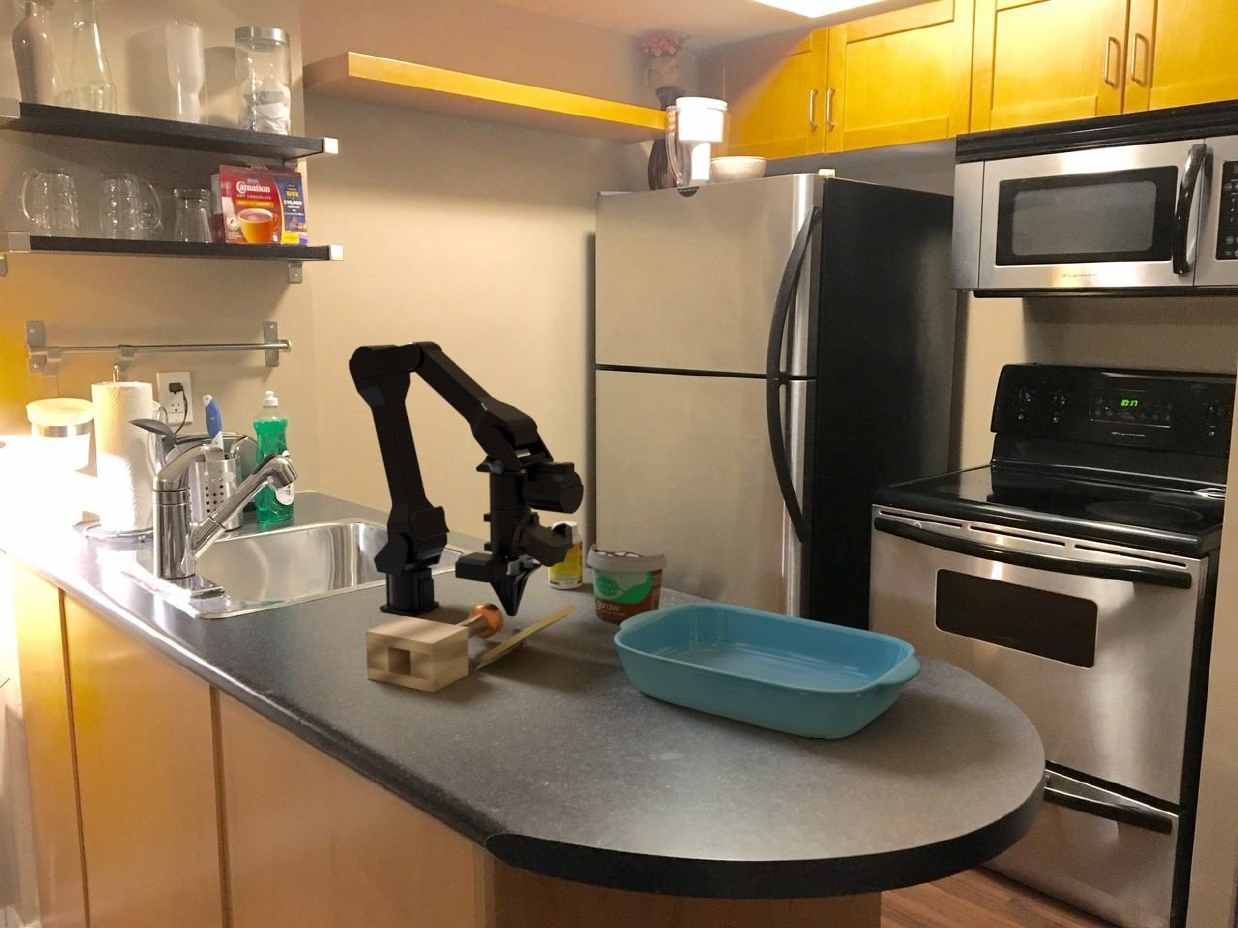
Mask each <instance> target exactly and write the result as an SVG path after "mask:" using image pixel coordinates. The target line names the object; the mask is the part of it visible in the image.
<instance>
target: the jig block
mask: <svg viewBox="0 0 1238 928" xmlns="http://www.w3.org/2000/svg"><path fill="white" fill-rule="evenodd" d="M365 641H366V642H365V643H366V644H365V645H366V666H367V667H366V670H367V672H366V673H367V674H366V675H367V679H369V680H374V681H378V682H384V683H388V684H392V685H396V686H397V685H398V686H401V687H405V688H411V689H415V690H419V691H423V692H429V693H432V694H433V693H436V692H437V691H438V692H439V690H441V689H443V688H445V687H447V686H449V685H451V684H453V683H454V682H456V681H458V680H461V679H462V678H464V677H466V676H468V675H470V674H469V665H468V655H469V639H468V627H463V626H458V625H456V624H450V623H446V622H441V621H440V622H439V621H433V620H429V619H423V618H419V617H418V618H417V617H413V616H408V615H402V616H398V617H397V618H394V619H392V620H389V621H386V622H385V623H382V624H380V625H377V626H375V627H372V628H370V629H368V630H366V631H365Z"/></svg>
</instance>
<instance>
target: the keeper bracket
mask: <svg viewBox="0 0 1238 928" xmlns="http://www.w3.org/2000/svg"><path fill="white" fill-rule="evenodd" d="M523 630H524V629H521V628H515V629H513V630H512V637H513V636H515V635H517V634H518V633H520V632H521V631H523ZM527 645H528V640H526V641H525V642H523V643H521V644H520V645H518V646H517V647H521V648H524V647H525V646H527ZM476 660H477V655H473V654H468V665H469V674H468V675H473V674H475V673H477V667H476Z"/></svg>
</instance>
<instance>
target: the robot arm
mask: <svg viewBox="0 0 1238 928" xmlns="http://www.w3.org/2000/svg"><path fill="white" fill-rule="evenodd" d="M348 370H349V374H350V376H351V379H352V382H353V385H354V387H355V390H356V392H357V394H358V395H359V396H360V397H361V398H362V400H363V401H364V402H365V403H366V404H367V406H368V407H369V408H370V410H371V414H372V419H373V422H374V427H375V432H376V436H377V437H376V438H377V440H378V445H379V451H380V454H381V459H382V463H383V468H384V473H385V477H386V482H387V486H388V491H389V496H390V501H391V508H390V511H389V515H388V519H387V522H386V534H387V542H386V543H385V544H384V545H383V547H381V549H380V551H379V552H377V554H376V555H375V556H374V557H373V562H374V565H375V568H376V571H377V572H378V573H381V574H385V597H386V599H385V600H386V603H385V604H383V605H381V606H379V611H383V612H390V613H395V614H401V615H404V616H409V617H413V616H416V615H419V614H421V613H423V612H427V611H429V610H431V609H433V608H434V609H435V608H436V607H438V606H440V601H436V599H435V579H434V578H433V568H432V567H431V566H434V565H439V564H440V560H441V558H442V553H443V552H444V550H445V548H446V546H447V545H448V534H449V533H450V531H451V530H450V529H449V527H448V526H447V522H446V514H445V510H444V508H443V506H442V505H438V506H436V507H435V506H434V505H433V504H432V502H431V501H430V500H429V499H428V498H427V496H426V495H427V494H426V491H425V487H424V483H423V479H422V478H423V477H422V475H421V474H422V473H421V470H420V464H419V458H418V455H417V451H416V446H415V442H414V437H413V432H412V427H411V424H410V419H409V414H408V409H407V405H406V400H407V397H408V393H409V390H410V387H411V384H412V383H411V374H412V373H416V374H417V375H418V377H420V378H421V379H422V380H423V381H424V382H425V383H426V384H427V385H428V386H429V387H430V388H432V389H433V390H434V391H435V392H436V393H437V394H438V395H439V396H440V398H442V399H443V400H444V401H445V402H447V403H448V405H450V406H451V407H452V408H453V409H454V410H456V412H457V413H458V414H460V416H461V417H463V418H464V420H465V421H466V422H467V423H468V425H469V426H470V432H471V434H472V437H473V439H474V441H476V443H477V444H478V446H480V448H481V449H482V451H483V452H484V453H485V454H486V456H485V457H484V459H483V461H481V462H480V463H479V464H478V465H477V466H476V467H475V470H476V472H478V473H485V474H486V473H487V474H488V475H489V476H488V477H489V478H488V479H489V480H488V481H489V483H488V485H489V487H488V489H489V512H487V513H484V514H483V522H485V523H489V538H490V539H489V541H488V542H485V543H483V551H484V552H479V551H474V552H471V553H468V554H466V555H462V556H460V557H459V558H458V559H457V560H456V561H455V563H454V576H455V579H459V580H460V579H462V580H468V581H474V582H480V583H481V582H482V583H486V584H487V583H488V584H490V586H491V587H492V589H493V590H494V592H495V594H496V596H497V598H498V600H499V602H500V604H501V607H502V608H503V610H504V612H505V614H506V616H508V617H512V618H513V617H515V616H517V614H518V611H519V609H520V605H521V602H522V598H523V595H524V592H525V588H526V586H527V582H528V580H529V577H530V576H531V575H533V574H534V573H535V572H536V571H537V570H539V569H540V568H541V567H542V566H544V567H546V568H548V567H552V566H554V565H555V564H557V563H559V562H561V563H562V562H564V560H565V557H566V554H567V551H568V550H569V549H571V548H573V546H574V544H573V543H572V541H573V535H572V527H571V526H570V525H568V524H566V523H561V524H558V525H556V526H555V527H554V528H553V526H550V525H549V526H545V525H541V523H540V515H539V514H538V511H542V512H550V513H551V512H552V513H558V514H567V515H572V514H573V515H574V514H575V513H576V512H577V511H578V510H579V508H580V506H581V505H582V502H583V499H584V495H585V494H584V492H585V489H584V488H585V487H584V484H583V481H582V479H581V476H580V474H579V473H578V472H577V471H575V466H576V465H575V463H574V462H572V461H563V462H559V461H558V462H556V461H555V459H554V457H553V455H552V453H551V452H550V450H549V449H548V447H547V445H546V443H545V442H544V440H543V438H542V437H541V435H540V434H539V431H538V425H537V422H536V421H535V420H534V418H533V417H531V416H530V415H529V414H527V413H525V412H524V411H522V410H520V409H519V408H517V407H516V406H514V405H511V404H509V403H506V402H503V401H501V400H499V399H497V398H496V397H493V396H492V395H491V394H490V393H489V392H487V391H486V390H485V389H484V388H483V387H482V386H481V385H480V384H479V383H478V382H477V381H476V380H475V379H473V378H472V377H471V376H470V375H469V374H468V373H467V372H466V371H464V370H463V368H462V367H460V366H459V365H458V364H457V363H456V362H455V361H454V360H453V359H452V358H450V357H449V356H448V355H447V354H446V353H445V352H444V351H443V349H442V347H441V346H440V344H438V343H436V342H434V341H430V340H426V341H425V340H424V341H412V342H409V343H407V344H403V345H396V344H380V345H379V344H377V345H361V346H359V347H357V348H356V349H355V350H354V351H353V353H352V354H351V357H350V358H349V360H348ZM532 510H536V511H532ZM486 552H491V553H486ZM534 560H535V561H537V562H534Z"/></svg>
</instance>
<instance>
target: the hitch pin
mask: <svg viewBox="0 0 1238 928" xmlns="http://www.w3.org/2000/svg"><path fill="white" fill-rule="evenodd" d="M504 621H505V619H504V615H503V613H502V610H501V609H500V608H499V607H498V606H497V605H496V604H493V603H491V602H485V603H483V604H480V605H478V606H475V607H474V608H472V610H471V611H470V612H469V614H468V617H467V619H465V620H463V621H461V622H459V623H456V624H455V625H458V626H463V627H468V640H470V639H472V638H475V637H476V638H478V639H481V640H487V639H489V638H492V637H493V636H496V635H498V634H499V633H500V632H501V631H502V630H503V627H504V624H505V622H504Z"/></svg>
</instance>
